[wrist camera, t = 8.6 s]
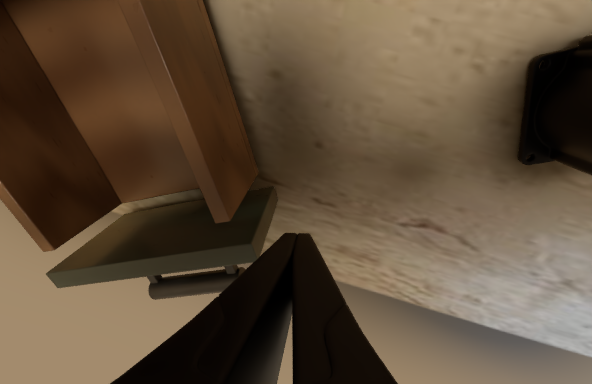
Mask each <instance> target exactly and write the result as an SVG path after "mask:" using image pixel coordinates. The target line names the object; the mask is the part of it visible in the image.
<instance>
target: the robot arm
mask: <svg viewBox="0 0 592 384" xmlns="http://www.w3.org/2000/svg"><path fill="white" fill-rule="evenodd" d="M542 61H544V65H543V67H542V68H541V69H540V68H539V65H540V63H541V62H542ZM530 154H531V156H530V157H529V158H528V159H526V158H527V156H528V155H530ZM518 160H519V162H521V163H523V164H525V165H532V164H538V163H544V162H550V161H558V162H560V163H563V164H565V165H568V166H570V167H573V168H575V169H578V170H580V171H582V172H585V173H587V174H590V175H592V35H589V36H586V37H584V38H583V39H582V40H581V41H580V42H579V46H576V47H572V48H568V49H564V50H560V51H555V52H551V53H547V54H543V55H539V56H537V57H535V58H534V59H533V60H532V61H531V63H530V66H529V71H528V79H527V87H526V95H525V103H524V111H523V119H522V127H521V135H520V143H519V151H518ZM291 316H292V324H293V325H292V331H293V332H292V334H293V384H398V383H397V382H396V381H395V379H394V378H393V376H392V375H391V373H390V372H389V371H388V369H387V368H386V366H385V365H384V363H383V362H382V360H381V359H380V358H379V356H378V355H377V353H376V352H375V350H374V349H373V347H372V346H371V344H370V343H369V341H368V340H367V338H366V337H365V335H364V334H363V332H362V330H361V329H360V327H359V325H358V323H357V322H356V320H355V318H354V316H353V314H352V313H351V311H350V309H349V307H348V305H346V302H345V299H344V298H343V296H342V294H341V292H340V290H339V288H338V286H337V284H336V283H335V280H334V279H333V277H332V275H331V273H330V271H329V269H328V267H327V265H326V263H325V261H324V259H323V258H322V256H321V254H320V252H319V250H318V248H317V246H316V244H315V242H314V240H313V238H312V237H311V235H310V234H309V233H299V234H298V235H297V234H296V233H285V234H283V235H282V236H281V237H280V238H279V239H278V240H277V241H276V242H275V243H274V244H273V245H272V246H271V247H269V248H268V249H267V250H266V251H265V252H264V253H263V254H262V255H261V256H260V257H259V258H258V259H257V260H256V261H255V262H253V264H252V265H250V266H249V267H248V268H247V269H246V270H245V271H244V272H243V273H242V274H241V275H240V276H239V277H238V278H236V279H235V280H234V281H233V282H232V283H231V284H230V285H229V286H228V287H227V288H226V289H225V290H224V291H223V292H222V293H221V294H219V297H216V298H215V299H214V300H213V301H212V302H211V303H210V304H209V305H208V306H206V307H205V308H204V309H203V310H202V311H201V312H200V313H199V314H198V315H196V316H195V317H194V318H193V319H192V320H191V321H190V322H188V323H187V324H186V325H185V326H183V327H182V328H181V329H180V330H178V331H177V332H176V333H175V334H174V335H172V336H171V337H170V338H169V339H167V340H166V341H165V342H163V343H162V344H161V345H160V346H158V347H157V348H156V349H155V350H153V351H152V352H151V353H150V354H148V355H147V356H146V357H144V358H143V359H142V360H141V361H139V362H138V363H137V364H136V365H134V366H133V367H132V368H130V369H129V370H128V371H127V372H126V373H124V374H123V375H121V376H120V377H119V378H117V379H116V380H115V381H113V382H112V383H110V384H277V380H278V376H279V371H280V366H281V362H282V357H283V353H284V348H285V343H286V339H287V334H288V329H289V325H290V320H291Z"/></svg>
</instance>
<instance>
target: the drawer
mask: <svg viewBox="0 0 592 384" xmlns="http://www.w3.org/2000/svg"><path fill="white" fill-rule="evenodd" d="M258 173H259V172H258V169H257V166H256V163H255V160H254V156H253V153H252V150H251V147H250V144H249V141H248V138H247V135H246V132H245V129H244V126H243V123H242V120H241V117H240V113H239V110H238V107H237V104H236V101H235V98H234V95H233V92H232V89H231V86H230V83H229V80H228V77H227V73H226V70H225V67H224V64H223V61H222V58H221V55H220V52H219V49H218V46H217V43H216V40H215V37H214V34H213V30H212V27H211V24H210V21H209V18H208V15H207V12H206V9H205V6H204V3H203V0H0V199H1V200H2V202H3V203H4V204H5V205H6V207H7V208H8V209H9V210H10V211H11V213H12V214H13V215H14V216H15V218H16V219H17V220H18V221H19V223H21V225H22V226H23V227H24V229H25V230H26V231H27V232H28V234H29V235H30V236H31V237H32V238H33V240H34V241H35V242H36V243H37V245H38V246H39V247H40V248H41V249H42V251H43V252H46V251H52V250H55V249H57V248H58V247H60V246H61V245H62V244H64V243H65V242H67V241H68V240H70V239H71V238H73V237H74V236H76V235H77V234H79V233H80V232H81V231H83V230H84V229H86V228H87V227H89V226H90V225H91V224H93V223H94V222H96V221H97V220H99V219H100V218H102V217H103V216H104V215H106V214H107V213H109V212H110V211H112V210H113V209H115V208H116V207H118V206H119V205H120V204H122V203H127V202H132V201H137V200H142V199H147V198H152V197H157V196H162V195H167V194H172V193H177V192H182V191H187V190H192V189H197V188H200V189H201V192H202V194H203V196H204V198H205V199H203V200H197V201H192V202H187V203H181V204H176V205H171V206H165V207H160V208H155V209H149V210H144V211H139V212H133V213H128V214H124V215H123V216H122V217H120V218H119V219H118V220H116V221H115V222H114V223H112V224H111V225H110V226H108V227H107V228H106V229H104V230H103V231H102V232H101V233H99V234H98V235H96V236H95V237H94V238H93V239H91V240H90V241H88V242H87V243H86V244H85V245H84V246H82V247H81V248H80V249H78V250H77V251H75V252H74V253H73V254H71V255H70V256H69V257H67V258H66V259H65V260H63V261H62V262H61V263H59V264H58V265H57V266H55V267H54V268H53V269H51V270H50V271H49V272H48V273H46V275H47V276H48V277H49V278H50V280H51V281H52V282H53V283H54V284H55V285H56V287H57V288H63V287H71V286H78V285H86V284H93V283H101V282H109V281H116V280H124V279H131V278H139V277H146V276H147V278H148V279H149V281H150V285H149V295H150V297H151V298H152V299H155V300H156V299H165V298H174V297H183V296H192V295H201V294H209V293H219V292H223V291H224V290H225V289H226V288H227V287H228V286H229V285H230V284H231V283H232V282H233V281H234V280H235V279H236V278H238V277H239V276H240V275H241V274H242V273H243V272H244V271H245V269H244V268H243V267H240V268H238V266H237V264H245V263H252V262H255V261H256V260H257V259H258V258H259V257H260V254H261V251H262V248H263V245H264V242H265V239H266V236H267V233H268V230H269V227H270V224H271V220H272V217H273V214H274V211H275V208H276V205H277V202H278V197H277V194H276V191H275V187H274V186H272V187H267V188H261V189H256V190H251V191H248V190H249V188H250V187H251V185H252V183H253V181H254V180H255V178H256V176H257V175H258ZM222 266H224V267H225V269H223V270H216V271H208V272H200V273H193V274H185V275H177V276H170V277H162V276H161V274H168V273H177V272H184V271H192V270H199V269H207V268H215V267H222Z"/></svg>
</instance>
